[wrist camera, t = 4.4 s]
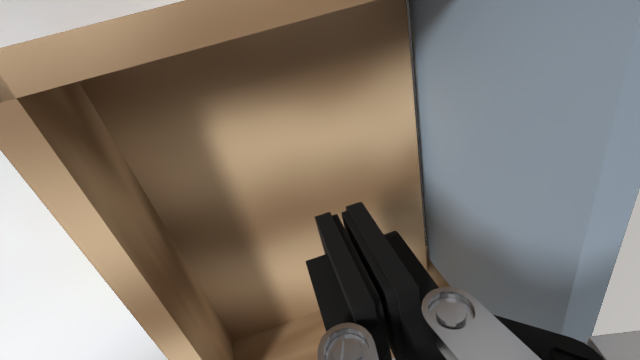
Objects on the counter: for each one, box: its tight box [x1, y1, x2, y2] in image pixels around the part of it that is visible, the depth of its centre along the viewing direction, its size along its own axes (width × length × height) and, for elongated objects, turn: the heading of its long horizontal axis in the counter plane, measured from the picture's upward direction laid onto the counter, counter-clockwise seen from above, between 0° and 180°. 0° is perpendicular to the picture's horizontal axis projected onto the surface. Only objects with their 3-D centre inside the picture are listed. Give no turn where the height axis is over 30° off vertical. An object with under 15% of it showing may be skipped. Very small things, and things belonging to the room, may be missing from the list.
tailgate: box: [409, 0, 640, 342], centre depth 12 cm, size 13×2×8 cm, turn 13°
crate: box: [0, 0, 451, 360], centre depth 14 cm, size 16×14×5 cm
